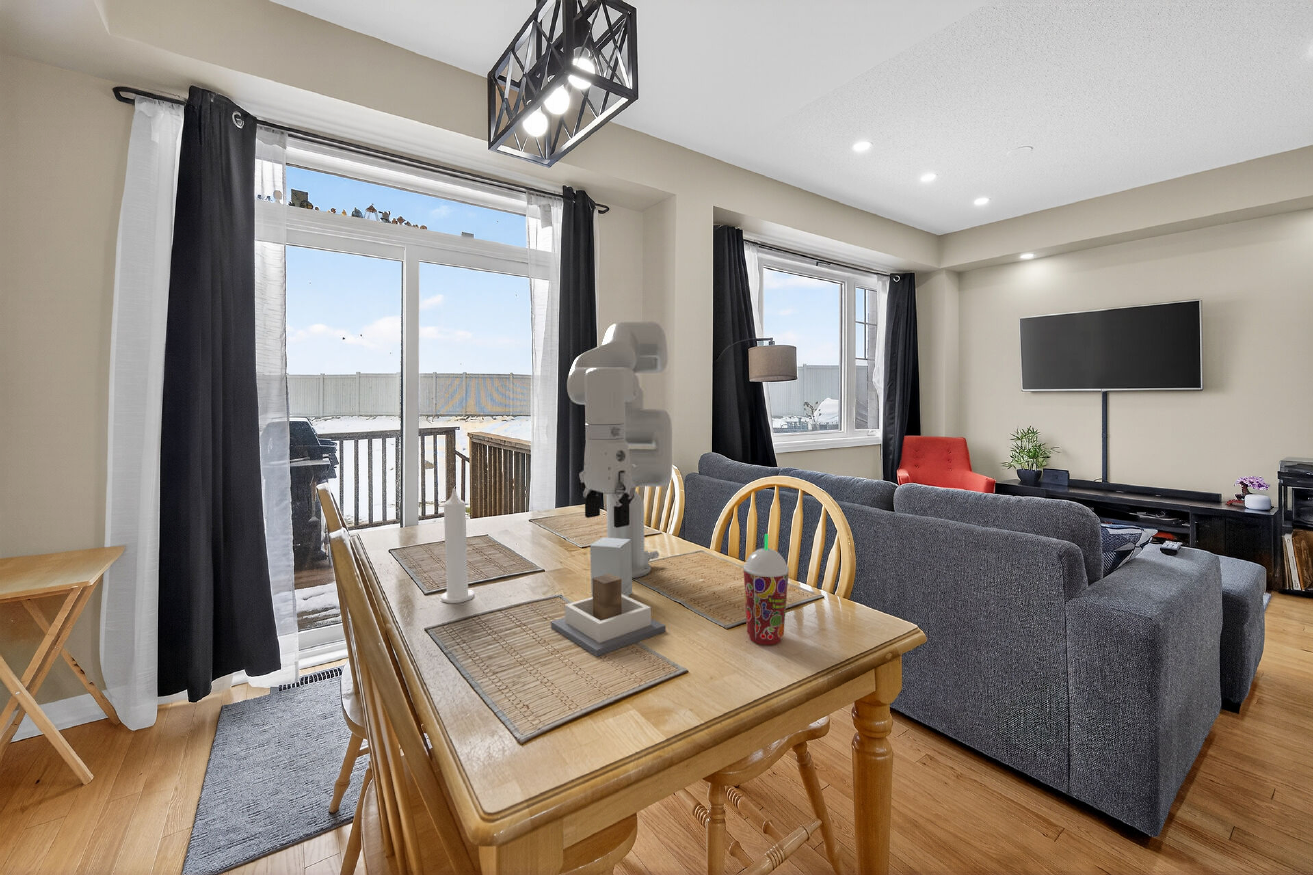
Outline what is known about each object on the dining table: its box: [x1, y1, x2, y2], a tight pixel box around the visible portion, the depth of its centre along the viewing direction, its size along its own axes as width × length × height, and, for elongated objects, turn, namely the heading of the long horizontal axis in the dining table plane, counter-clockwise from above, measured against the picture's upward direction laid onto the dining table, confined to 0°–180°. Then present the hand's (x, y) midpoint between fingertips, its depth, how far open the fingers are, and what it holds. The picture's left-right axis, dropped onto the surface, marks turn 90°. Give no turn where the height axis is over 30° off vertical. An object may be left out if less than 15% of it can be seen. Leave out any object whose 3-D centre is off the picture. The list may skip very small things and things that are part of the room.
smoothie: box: [742, 533, 790, 646], centre depth 105 cm, size 8×8×20 cm
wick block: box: [592, 574, 622, 621], centre depth 110 cm, size 4×4×9 cm
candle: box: [440, 488, 475, 604], centre depth 126 cm, size 7×7×25 cm
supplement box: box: [589, 536, 633, 597], centre depth 127 cm, size 7×7×13 cm
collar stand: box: [550, 594, 666, 657], centre depth 110 cm, size 16×16×5 cm
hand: (606, 521), depth 109 cm, fingers open, 9 cm apart
